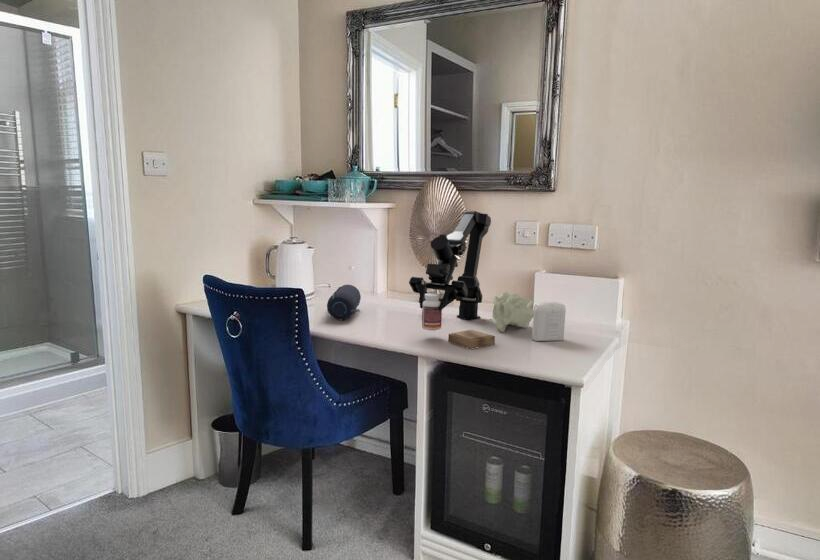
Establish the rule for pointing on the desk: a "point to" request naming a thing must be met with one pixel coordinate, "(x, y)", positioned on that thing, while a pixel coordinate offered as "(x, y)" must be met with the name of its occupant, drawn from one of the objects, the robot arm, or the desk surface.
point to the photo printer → (548, 321)
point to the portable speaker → (343, 302)
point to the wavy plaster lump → (511, 311)
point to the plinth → (471, 338)
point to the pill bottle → (431, 312)
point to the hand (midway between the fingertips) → (430, 308)
